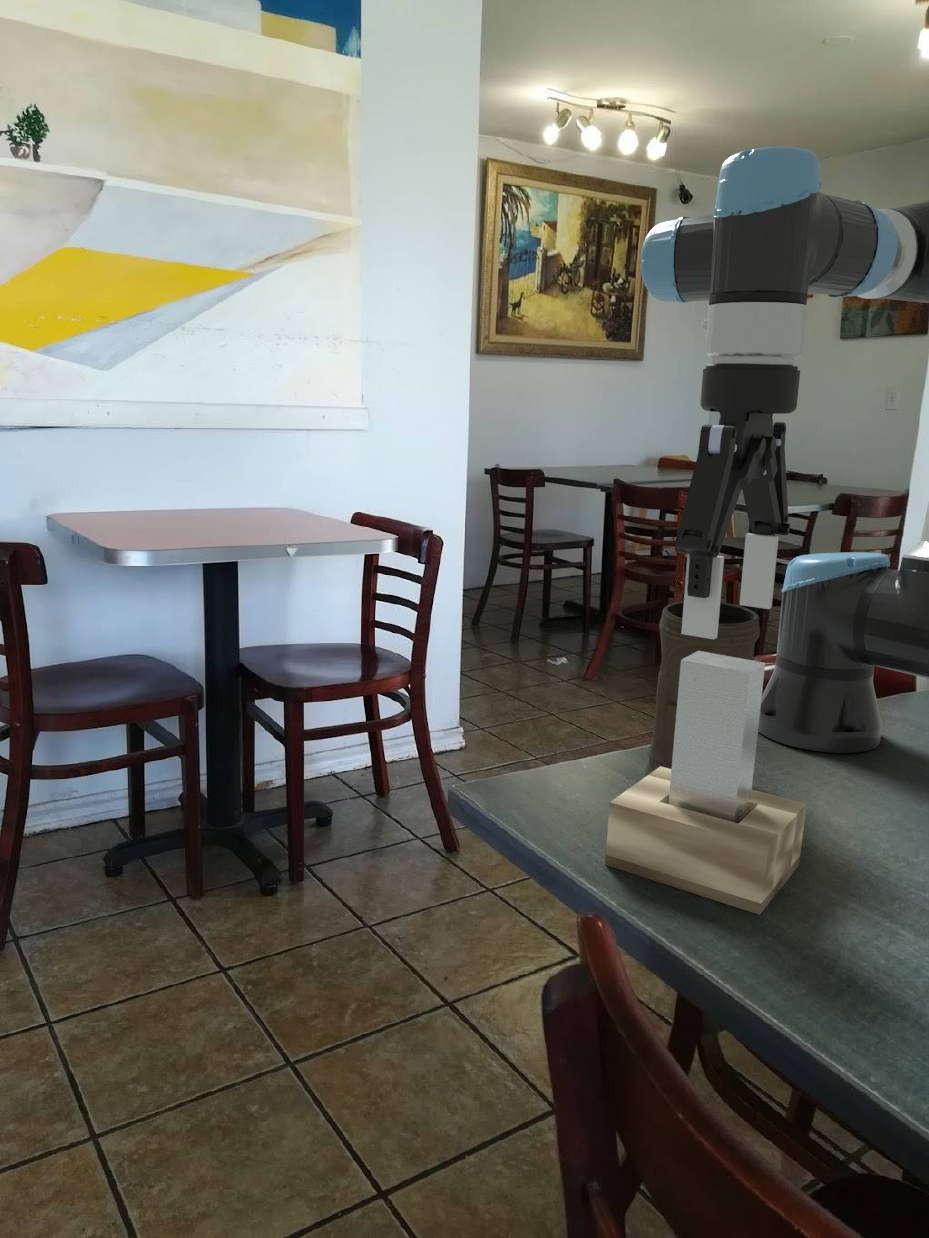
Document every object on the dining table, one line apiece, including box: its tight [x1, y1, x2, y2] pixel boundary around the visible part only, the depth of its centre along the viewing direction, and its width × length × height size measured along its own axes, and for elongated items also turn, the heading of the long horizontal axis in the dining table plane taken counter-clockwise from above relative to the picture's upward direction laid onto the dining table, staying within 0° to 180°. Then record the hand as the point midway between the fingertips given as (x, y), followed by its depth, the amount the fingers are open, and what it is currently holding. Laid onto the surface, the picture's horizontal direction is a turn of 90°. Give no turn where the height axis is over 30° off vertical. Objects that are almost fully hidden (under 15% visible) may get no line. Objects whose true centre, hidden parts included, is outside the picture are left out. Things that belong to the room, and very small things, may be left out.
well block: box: [604, 766, 807, 916], centre depth 88 cm, size 11×14×6 cm
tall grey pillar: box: [668, 651, 766, 824], centre depth 86 cm, size 4×6×18 cm, turn 56°
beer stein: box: [643, 600, 761, 778], centre depth 105 cm, size 15×11×20 cm
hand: (729, 620), depth 84 cm, fingers open, 13 cm apart
